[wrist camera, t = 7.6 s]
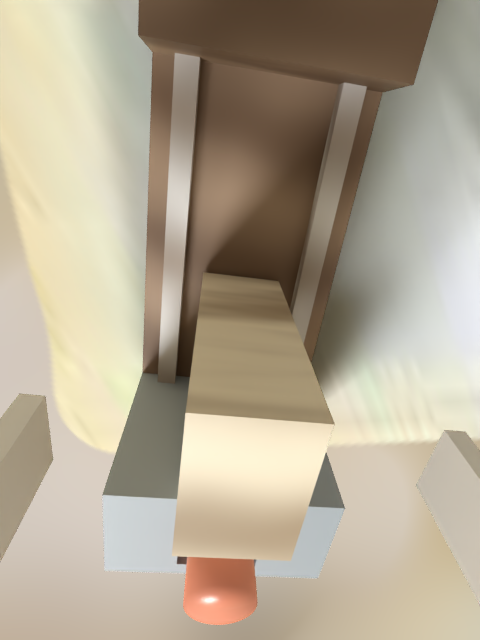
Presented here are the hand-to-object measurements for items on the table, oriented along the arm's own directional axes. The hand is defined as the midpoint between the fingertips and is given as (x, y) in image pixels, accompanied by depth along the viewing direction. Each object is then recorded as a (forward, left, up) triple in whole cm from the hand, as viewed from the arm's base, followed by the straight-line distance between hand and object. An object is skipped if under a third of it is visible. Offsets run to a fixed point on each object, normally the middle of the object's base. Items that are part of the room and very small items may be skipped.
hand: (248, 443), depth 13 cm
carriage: (0, 0, -9) cm, 9 cm away
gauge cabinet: (+7, 0, -11) cm, 13 cm away
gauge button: (+7, 0, -2) cm, 7 cm away
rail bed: (-4, 0, -11) cm, 12 cm away
